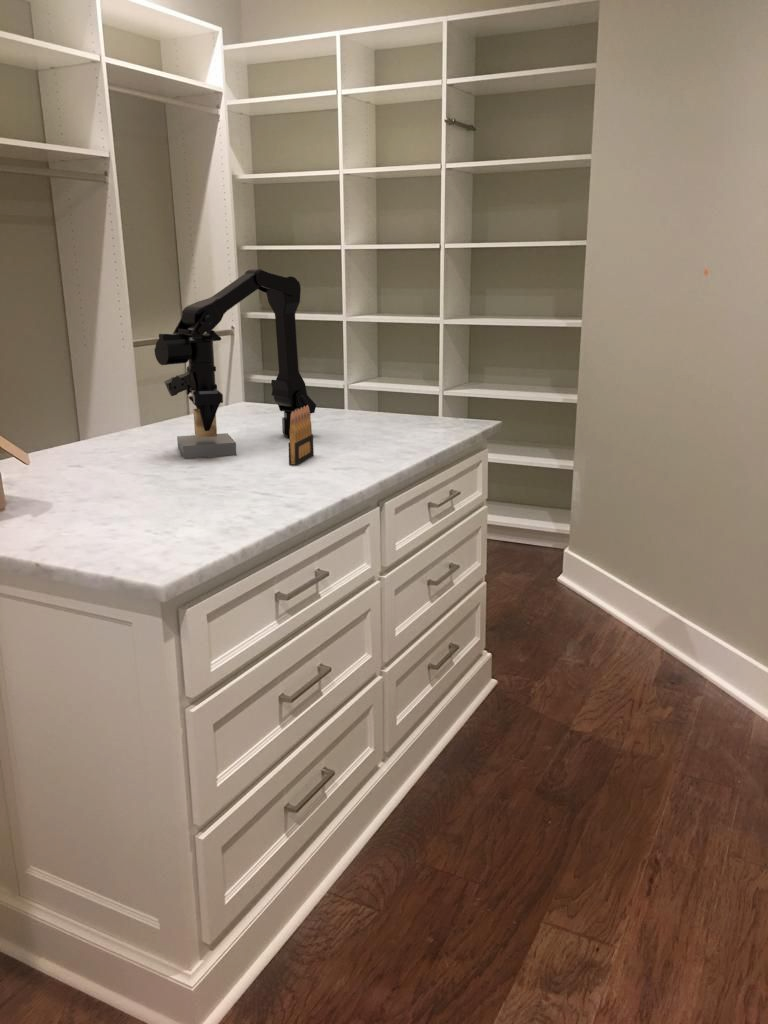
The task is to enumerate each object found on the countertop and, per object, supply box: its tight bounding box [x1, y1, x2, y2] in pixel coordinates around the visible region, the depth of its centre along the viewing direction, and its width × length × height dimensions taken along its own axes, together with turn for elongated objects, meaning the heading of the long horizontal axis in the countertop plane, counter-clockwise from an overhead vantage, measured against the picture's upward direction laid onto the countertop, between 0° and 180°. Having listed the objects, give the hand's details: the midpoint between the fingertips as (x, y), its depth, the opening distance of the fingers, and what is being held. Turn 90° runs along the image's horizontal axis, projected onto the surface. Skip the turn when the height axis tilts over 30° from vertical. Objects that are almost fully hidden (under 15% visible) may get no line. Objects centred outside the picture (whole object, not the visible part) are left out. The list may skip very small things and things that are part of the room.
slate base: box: [176, 432, 237, 460], centre depth 199 cm, size 12×12×3 cm
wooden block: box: [193, 408, 218, 438], centre depth 197 cm, size 4×4×6 cm
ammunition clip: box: [288, 405, 315, 467], centre depth 189 cm, size 11×2×12 cm, turn 164°
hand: (205, 428), depth 198 cm, fingers closed on wooden block, 4 cm apart
